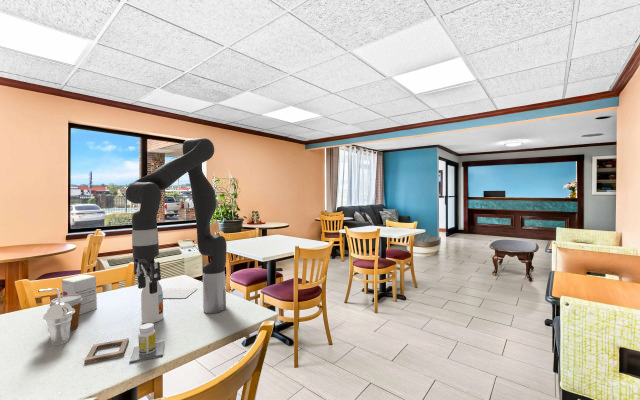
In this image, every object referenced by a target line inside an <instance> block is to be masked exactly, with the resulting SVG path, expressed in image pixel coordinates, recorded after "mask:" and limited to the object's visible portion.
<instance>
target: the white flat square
mask: <svg viewBox="0 0 640 400" xmlns="http://www.w3.org/2000/svg"><path fill="white" fill-rule="evenodd" d="M196 290H198V288H192V287H191V288H190V287H189V288H187V287H186V288H182V287H181V288H178V287H177V288H173V287H172V288H168V287H167V288H165V289H164V290H162V291H163V299H186V298H187V297H189V296H190V295H191V294H193V293H194V292H195V291H196Z"/></svg>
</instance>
